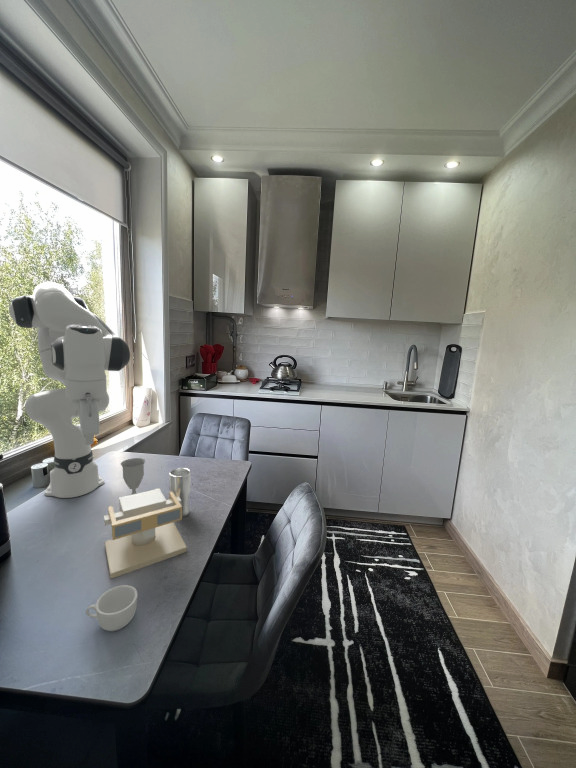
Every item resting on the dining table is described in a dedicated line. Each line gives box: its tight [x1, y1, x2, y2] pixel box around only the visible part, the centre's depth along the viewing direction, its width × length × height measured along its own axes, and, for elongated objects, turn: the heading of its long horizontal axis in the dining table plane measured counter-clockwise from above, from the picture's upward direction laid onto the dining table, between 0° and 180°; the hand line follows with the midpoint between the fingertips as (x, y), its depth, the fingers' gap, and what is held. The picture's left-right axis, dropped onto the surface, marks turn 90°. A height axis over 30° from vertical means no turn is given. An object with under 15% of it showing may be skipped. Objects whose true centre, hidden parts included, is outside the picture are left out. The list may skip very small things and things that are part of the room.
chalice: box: [120, 457, 146, 495], centre depth 105 cm, size 7×7×18 cm
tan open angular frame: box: [107, 491, 183, 540], centre depth 86 cm, size 10×17×4 cm, turn 125°
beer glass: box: [168, 467, 192, 518], centre depth 106 cm, size 7×7×15 cm
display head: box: [103, 488, 188, 579], centre depth 88 cm, size 14×20×14 cm
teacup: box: [85, 584, 138, 632], centre depth 67 cm, size 10×8×5 cm
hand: (88, 440), depth 83 cm, fingers open, 4 cm apart
